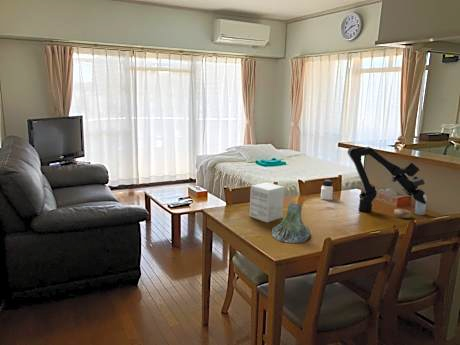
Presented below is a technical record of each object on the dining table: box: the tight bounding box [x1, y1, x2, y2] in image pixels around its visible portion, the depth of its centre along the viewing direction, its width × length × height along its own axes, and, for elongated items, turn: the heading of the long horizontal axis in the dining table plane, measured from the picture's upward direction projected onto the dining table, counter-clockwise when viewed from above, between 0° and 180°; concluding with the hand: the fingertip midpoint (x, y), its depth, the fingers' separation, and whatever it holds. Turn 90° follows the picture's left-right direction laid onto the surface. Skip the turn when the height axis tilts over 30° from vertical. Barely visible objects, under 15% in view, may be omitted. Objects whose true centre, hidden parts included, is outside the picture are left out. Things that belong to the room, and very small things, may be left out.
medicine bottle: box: [320, 179, 334, 201], centre depth 242 cm, size 7×7×12 cm
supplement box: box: [248, 182, 285, 223], centre depth 200 cm, size 13×13×18 cm
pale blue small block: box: [414, 194, 428, 216], centre depth 215 cm, size 5×5×11 cm
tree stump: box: [271, 202, 311, 244], centre depth 176 cm, size 18×20×18 cm
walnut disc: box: [393, 208, 413, 219], centre depth 210 cm, size 9×9×3 cm
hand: (422, 201), depth 215 cm, fingers open, 9 cm apart
